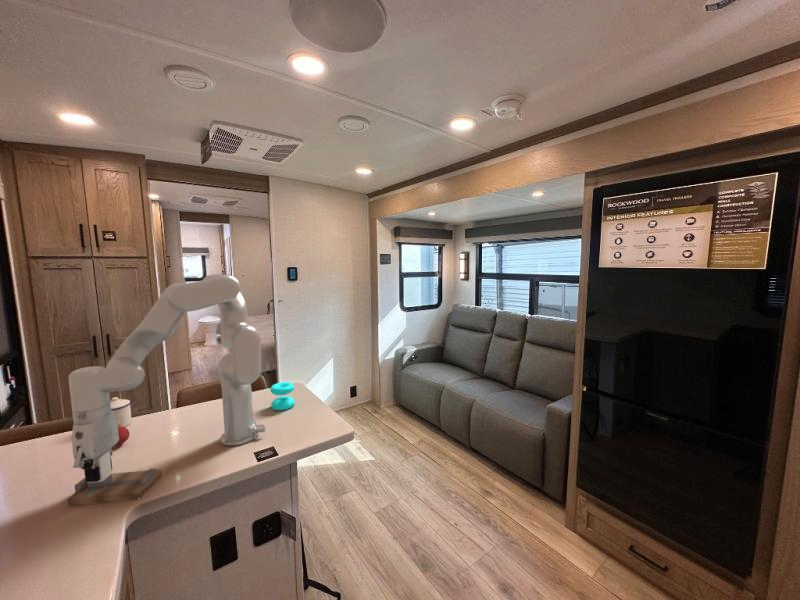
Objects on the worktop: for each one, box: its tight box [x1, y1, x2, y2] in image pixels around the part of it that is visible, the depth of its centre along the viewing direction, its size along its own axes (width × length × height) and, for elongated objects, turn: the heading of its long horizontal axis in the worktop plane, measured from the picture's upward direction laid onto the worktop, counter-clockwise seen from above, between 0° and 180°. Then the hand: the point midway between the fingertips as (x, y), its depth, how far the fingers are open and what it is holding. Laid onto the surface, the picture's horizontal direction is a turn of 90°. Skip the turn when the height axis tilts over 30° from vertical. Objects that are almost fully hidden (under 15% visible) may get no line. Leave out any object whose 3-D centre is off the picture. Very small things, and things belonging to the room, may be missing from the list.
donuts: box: [269, 381, 296, 411], centre depth 144 cm, size 10×10×10 cm
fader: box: [87, 450, 113, 488], centre depth 89 cm, size 4×4×9 cm
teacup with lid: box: [110, 396, 132, 428], centre depth 126 cm, size 12×9×12 cm
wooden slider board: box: [66, 467, 162, 507], centre depth 90 cm, size 17×10×4 cm, turn 98°
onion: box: [114, 424, 130, 447], centre depth 113 cm, size 6×6×8 cm
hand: (99, 475), depth 89 cm, fingers closed on fader, 3 cm apart
